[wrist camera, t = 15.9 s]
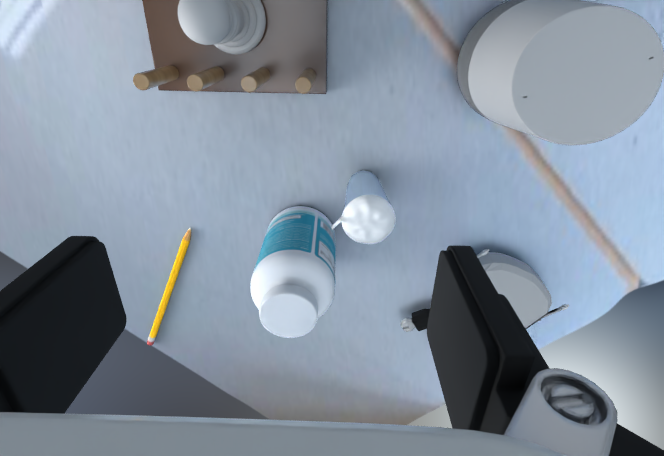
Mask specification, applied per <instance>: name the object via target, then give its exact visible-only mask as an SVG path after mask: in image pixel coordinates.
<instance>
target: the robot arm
mask: <svg viewBox="0 0 664 456" xmlns="http://www.w3.org/2000/svg"><path fill="white" fill-rule="evenodd" d="M125 326H126V314H125V311H124V308H123V304H122V301H121V298H120V295H119V291H118V288H117V285H116V281H115V278H114V275H113V271H112V268H111V265H110V261H109V258H108V255H107V251H106V248H105V245H104V244H103V243H102V242H99V240H98V239H97V238H96V237H93V236H71V237H69V238H67V239H66V240H65V241H63V242H62V243H61V244H60V245H58V246H57V247H56V248H54V249H53V250H52V251H51V252H49V253H48V254H47V255H46V256H44V257H43V258H42V259H40V260H39V261H38V262H37V263H35V264H34V265H33V266H32V267H30V268H29V269H28V270H27V271H25V272H24V273H23V274H21V275H20V276H19V277H18V278H16V279H15V280H14V281H12V282H11V283H10V284H9V285H7V286H6V287H5V288H4V289H2V290H1V291H0V456H664V450H662V449H660V448H658V447H657V446H655V445H653V444H652V443H650V442H648V441H646V440H645V439H643V438H641V437H640V436H638V435H636V434H634V433H633V432H631V431H629V430H627V429H626V428H624V427H622V426H620V425H619V424H617V410H616V408H615V406H614V404H613V402H612V400H611V399H610V398H609V397H608V395H607V394H606V393H605V392H604V391H603V390H602V389H601V388H600V387H598V386H597V385H596V384H595V383H594V382H592V381H590V380H588V379H587V378H585V377H583V376H582V375H579V374H577V373H574V372H571V371H568V370H563V369H557V368H556V369H555V368H554V369H549V367H548V365H547V364H546V362H545V360H544V359H543V357H542V355H541V354H540V352H539V350H538V349H537V347H536V346H535V344H534V342H533V341H532V339H531V337H530V336H529V334H528V332H527V331H526V329H525V327H524V326H523V324H522V322H521V321H520V319H519V317H518V316H517V314H516V312H515V311H514V309H513V307H512V306H511V304H510V302H509V301H508V299H507V298H506V297H505V295H502V294H498V292H497V290H496V289H495V287H494V285H493V284H492V282H491V280H490V278H489V277H488V275H487V273H486V271H485V270H484V268H483V266H482V265H481V263H480V261H479V259H478V258H477V256H476V254H475V253H474V251H473V249H472V248H471V247H470V246H448V248H447V251H441V252H440V255H439V261H438V266H437V272H436V278H435V284H434V289H433V295H432V301H431V307H430V312H429V318H428V324H427V336H428V341H429V344H430V348H431V351H432V355H433V359H434V362H435V366H436V370H437V373H438V377H439V381H440V384H441V388H442V391H443V395H444V399H445V402H446V406H447V410H448V413H449V416H450V421H451V424H452V428H442V427H426V426H409V425H390V424H371V423H346V422H318V421H291V420H263V419H231V418H200V417H167V416H134V415H96V414H64V413H65V412H66V410H67V409H68V408H69V406H70V405H71V403H72V402H73V401H74V399H75V398H76V396H77V395H78V393H79V392H80V391H81V389H82V388H83V386H84V385H85V384H86V382H87V381H88V379H89V378H90V376H91V375H92V374H93V372H94V371H95V370H96V368H97V367H98V365H99V364H100V362H101V361H102V360H103V358H104V357H105V355H106V354H107V353H108V351H109V350H110V348H111V347H112V346H113V344H114V343H115V341H116V340H117V338H118V337H119V336H120V334H121V333H122V332H123V330H124V328H125Z"/></svg>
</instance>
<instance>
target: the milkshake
mask: <svg viewBox="0 0 664 456" xmlns="http://www.w3.org/2000/svg"><path fill="white" fill-rule="evenodd" d="M341 221H342V226H343V229H344V231H345V233H346V234H347V235H348V236H349V237H350V238H351V239H352V240H354V241H356V242H359V243H364V244H376V243H379V242H381V241H383V240H384V239H385V238H386V237H387V236H388V235H389V234H390V233H391V232H392V231H393V229H394V226H395V221H396V216H395V212H394V209H393V207H392V205H391V203H390V202H389V200H388V198H387V196H386V194H385V192H384V189H383V187H382V185H381V183H380V181H379V179H378V177H377V176H375V175H374V174H373V173H372V172H371V171H362V170H360V171H359V172H357V173H355V174H353V175H352V176H351V178H350V180H349V182H348V185H347V192H346V198H345V205H344V209H343V214H342V217H340V218H339V219H338V220H337V221H336V222H335V223H334V224H333V225H332V230H333V229H334V228H335V227H336V226H337V225H338V224H339V223H340V222H341Z"/></svg>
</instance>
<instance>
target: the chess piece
mask: <svg viewBox="0 0 664 456" xmlns="http://www.w3.org/2000/svg"><path fill="white" fill-rule="evenodd" d="M178 19H179V23H180V25H181V28H182V29H183V31H184V33H185V34H186V35H187V36H188V37H189V38H190V39H191V40H193V41H195V42H197V43H199V44H204V45H212V44H214V45H215V46H216V47H217V48H219V49H220V50H222V51H224V52H227V53H230V54H243V53H246V52H249V51H251V50H252V49H254V48H255V47H256V46H257V45H258V44H259V42H260V41H261V39H262V37H263V34H264V31H265V25H266V17H265V11H264V7H263V5H262V2H261V0H180V1H179V5H178Z"/></svg>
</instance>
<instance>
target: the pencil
mask: <svg viewBox="0 0 664 456" xmlns="http://www.w3.org/2000/svg"><path fill="white" fill-rule="evenodd" d="M190 237H191V227H190V228H189V230H188V231H187V233H186V234H185V236H184V237H183V240H182V242H181V245H180V248H179V251H178V254H177V257H176V260H175V263H174V266H173V269H172V271H171V274H170V277H169V280H168V283H167V286H166V289H165V292H164V295H163V298H162V300H161V303H160V306H159V309H158V312H157V315H156V318H155V321H154V324H153V327H152V329H151V332H150V335H149V338H148V341H147V344H148V345H153V343H154V341H155V338H156V335H157V332H158V329H159V327H160V324H161V321H162V318H163V315H164V313H165V310H166V307H167V304H168V301H169V299H170V296H171V293H172V290H173V287H174V284H175V282H176V279H177V276H178V273H179V270H180V268H181V265H182V262H183V259H184V256H185V254H186V251H187V248H188V245H189V242H190Z"/></svg>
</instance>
